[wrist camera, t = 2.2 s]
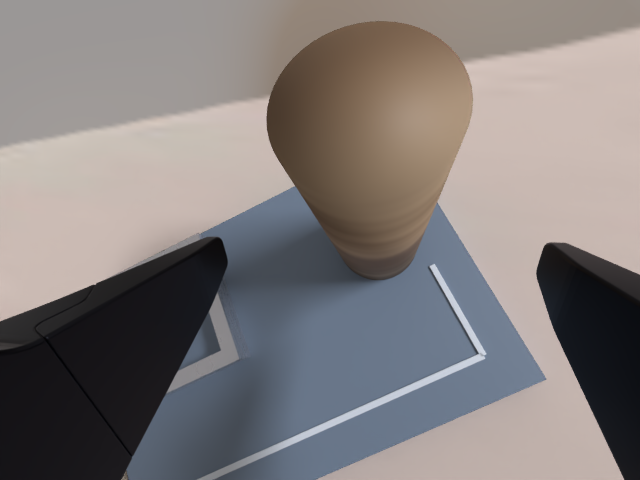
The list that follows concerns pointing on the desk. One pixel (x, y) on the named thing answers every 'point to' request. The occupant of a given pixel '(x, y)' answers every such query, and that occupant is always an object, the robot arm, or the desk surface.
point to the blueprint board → (332, 355)
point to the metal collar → (224, 328)
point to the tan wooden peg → (371, 136)
